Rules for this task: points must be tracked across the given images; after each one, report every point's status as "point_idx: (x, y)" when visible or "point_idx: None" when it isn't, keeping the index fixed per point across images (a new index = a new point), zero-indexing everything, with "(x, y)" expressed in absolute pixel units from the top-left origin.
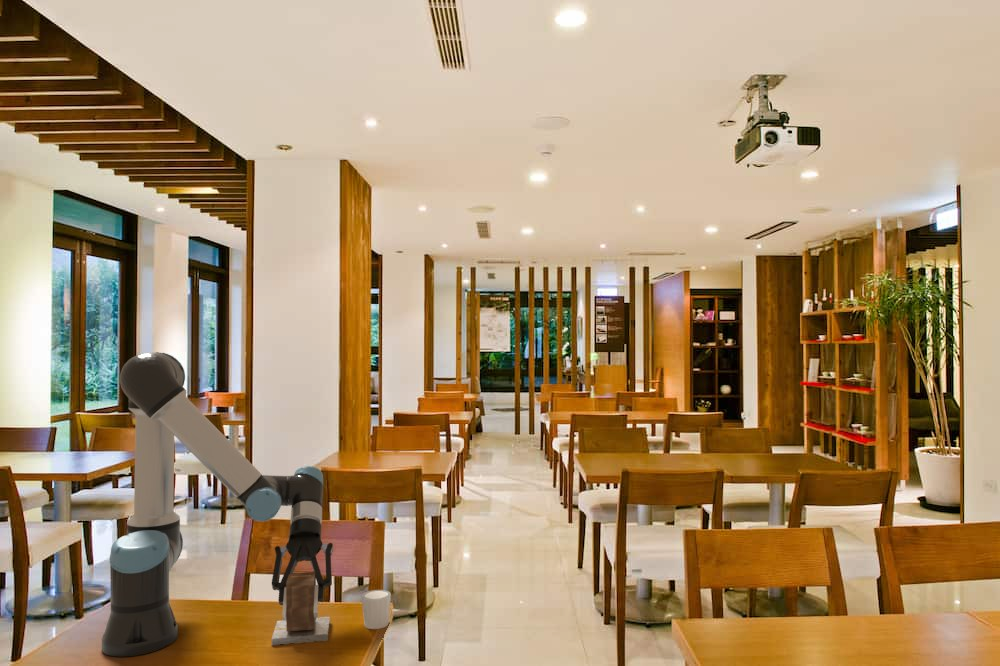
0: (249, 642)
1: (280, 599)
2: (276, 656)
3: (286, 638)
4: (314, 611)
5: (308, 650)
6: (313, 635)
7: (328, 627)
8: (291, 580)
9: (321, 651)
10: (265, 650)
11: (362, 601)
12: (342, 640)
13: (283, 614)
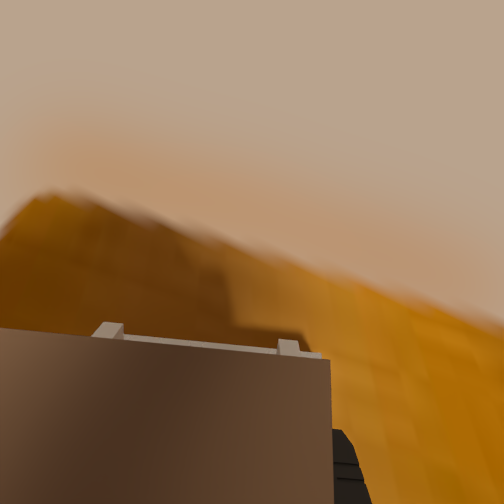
0: (407, 421)
1: (338, 449)
2: (287, 265)
3: (261, 348)
4: (114, 327)
5: (184, 276)
6: (152, 337)
7: None
8: (268, 423)
9: (143, 256)
10: (330, 322)
11: None
12: (49, 321)
13: (291, 341)
